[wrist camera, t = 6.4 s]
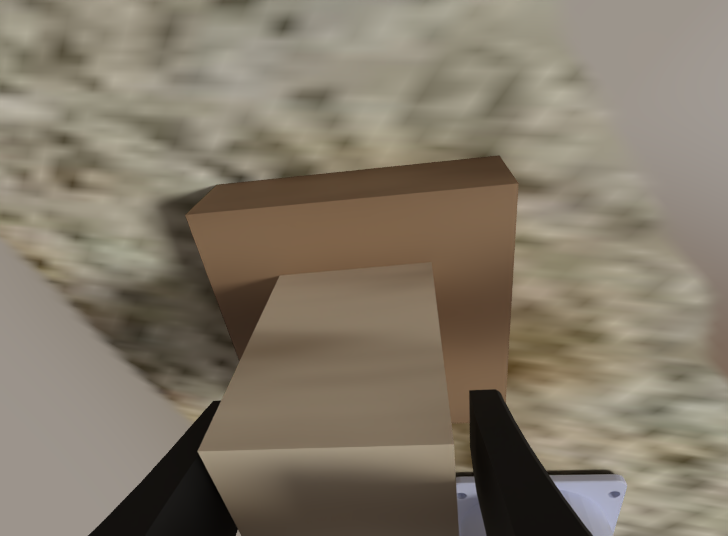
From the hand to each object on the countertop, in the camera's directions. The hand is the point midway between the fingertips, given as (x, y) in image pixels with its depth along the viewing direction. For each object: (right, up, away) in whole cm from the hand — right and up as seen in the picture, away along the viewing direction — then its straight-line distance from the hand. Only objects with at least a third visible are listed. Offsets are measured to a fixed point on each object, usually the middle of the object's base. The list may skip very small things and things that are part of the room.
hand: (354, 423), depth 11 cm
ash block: (0, +2, +3) cm, 4 cm away
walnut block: (0, +3, +6) cm, 6 cm away
